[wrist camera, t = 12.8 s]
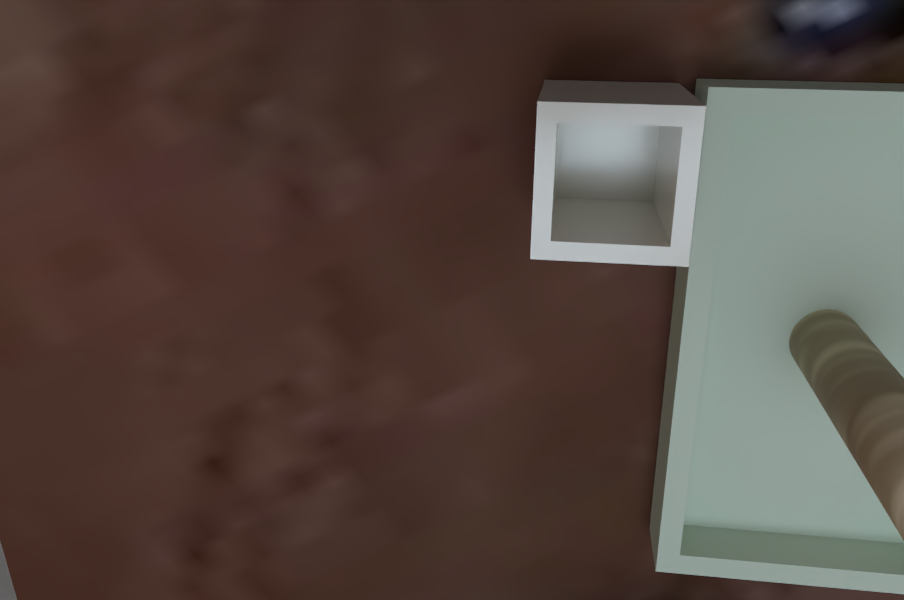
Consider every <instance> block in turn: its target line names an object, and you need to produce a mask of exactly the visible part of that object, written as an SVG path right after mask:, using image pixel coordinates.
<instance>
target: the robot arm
mask: <svg viewBox="0 0 904 600" xmlns="http://www.w3.org/2000/svg"><path fill="white" fill-rule="evenodd" d="M0 600H17V598H16V595H15V591H14V588H13V584H12V581H11V577H10V574H9V570H8V567H7V563H6V560H5V557H4V553H3V550H2V546H1V543H0Z"/></svg>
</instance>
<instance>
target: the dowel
mask: <svg viewBox="0 0 904 600" xmlns="http://www.w3.org/2000/svg"><path fill="white" fill-rule="evenodd" d="M789 348H790V352H791V355H792V357H793V359H794V360H795V362H796V364H797V365H798V367H799V368H800V370H801V372H802V373H803V375H804V377H805V378H806V380H807V382H808V383H809V385H810V387H811V388H812V390H813V392H814V393H815V395H816V397H817V398H818V400H819V402H820V403H821V405H822V407H823V408H824V410H825V412H826V413H827V415H828V416H829V418H830V420H831V421H832V423H833V425H834V426H835V428H836V430H837V431H838V433H839V435H840V436H841V438H842V440H843V441H844V443H845V445H846V446H847V448H848V450H849V451H850V453H851V455H852V456H853V458H854V460H855V461H856V463H857V464H858V466H859V468H860V469H861V471H862V473H863V474H864V476H865V478H866V479H867V481H868V483H869V484H870V486H871V488H872V489H873V491H874V493H875V494H876V496H877V498H878V499H879V501H880V503H881V504H882V506H883V508H884V509H885V511H886V512H887V514H888V516H889V517H890V519H891V521H892V522H893V524H894V526H895V527H896V529H897V531H898V532H899V534H900V536H901V537H902V539H903V541H904V378H903V377H902V376H901V374H900V373H899V372H898V371H897V370H896V369H895V367H894V366H893V365H892V364H891V363H890V362H889V360H888V359H887V358H886V357H885V356H884V355H883V353H882V352H881V351H880V350H879V349H878V348H877V346H876V345H875V344H874V343H873V342H872V341H871V340H870V338H869V337H868V336H867V335H866V334H865V333H864V331H863V330H862V329H861V328H860V327H859V326H858V324H857V323H856V322H855V321H854V320H853V319H852V318H851V317H850V316H848V315H847V314H845V313H843V312H840V311H837V310H819V311H815V312H812V313H810V314H808V315H806V316H805V317H803V318H802V319H801V320H800V321H799V322H798V323H797V324H796V325H795V327H794V328H793V330H792V332H791V335H790V339H789Z"/></svg>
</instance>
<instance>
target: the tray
mask: <svg viewBox="0 0 904 600" xmlns="http://www.w3.org/2000/svg"><path fill="white" fill-rule="evenodd" d="M695 97H696V98H697V99H698V100H700V101H701V102H702V103H703V104H704V105H706V113H705V122H704V131H703V140H702V149H701V158H700V168H699V177H698V186H697V195H696V204H695V213H694V222H693V232H692V241H691V250H690V259H689V267H681V266H677V269H676V279H675V288H674V298H673V307H672V317H671V326H670V336H669V346H668V355H667V365H666V374H665V384H664V393H663V403H662V412H661V422H660V432H659V441H658V451H657V460H656V470H655V479H654V489H653V499H652V508H651V518H650V527H649V528H650V535H651V542H652V549H653V556H654V563H655V570H656V571H657V572H668V573H679V574H690V575H701V576H712V577H722V578H733V579H744V580H755V581H766V582H777V583H788V584H799V585H810V586H820V587H831V588H842V589H853V590H864V591H875V592H886V593H897V594H904V541H903V539H902V537H901V536H900V534H899V532H898V531H897V529H896V527H895V526H894V524H893V522H892V521H891V519H890V517H889V516H888V514H887V512H886V511H885V509H884V508H883V506H882V504H881V503H880V501H879V499H878V498H877V496H876V494H875V493H874V491H873V489H872V488H871V486H870V484H869V483H868V481H867V479H866V478H865V476H864V474H863V473H862V471H861V469H860V468H859V466H858V464H857V463H856V461H855V460H854V458H853V456H852V455H851V453H850V451H849V450H848V448H847V446H846V445H845V443H844V441H843V440H842V438H841V436H840V435H839V433H838V431H837V430H836V428H835V426H834V425H833V423H832V421H831V420H830V418H829V416H828V415H827V413H826V412H825V410H824V408H823V407H822V405H821V403H820V402H819V400H818V398H817V397H816V395H815V393H814V392H813V390H812V388H811V387H810V385H809V383H808V382H807V380H806V378H805V377H804V375H803V373H802V372H801V370H800V368H799V367H798V365H797V364H796V362H795V360H794V359H793V357H792V355H791V352H790V348H789V339H790V335H791V332H792V330H793V328H794V327H795V325H796V324H797V323H798V322H799V321H800V320H801V319H802V318H803V317H805V316H806V315H808V314H810V313H812V312H815V311H819V310H837V311H840V312H843V313H845V314H847V315H848V316H850V317H851V318H852V319H853V320H854V321H855V322H856V323H857V324H858V326H859V327H860V328H861V329H862V330H863V331H864V333H865V334H866V335H867V336H868V337H869V338H870V340H871V341H872V342H873V343H874V344H875V345H876V346H877V348H878V349H879V350H880V351H881V352H882V353H883V355H884V356H885V357H886V358H887V359H888V360H889V362H890V363H891V364H892V365H893V366H894V367H895V369H896V370H897V371H898V372H899V373H900V374H901V376H902V377H903V378H904V84H903V83H862V82H820V81H778V80H737V79H696V87H695Z"/></svg>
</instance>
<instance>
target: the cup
mask: <svg viewBox="0 0 904 600" xmlns="http://www.w3.org/2000/svg"><path fill="white" fill-rule="evenodd" d="M705 113H706V105H704V104H703V103H702V102H701V101H700V100H698V99H697V98H696V97H695V96H694V95H692V94H691V93H690V92H689V91H688V90H686V89H685V88H684V87H683V86H682V85H681V84H679V83H658V82H617V81H577V80H544V83H543V86H542V89H541V92H540V95H539V98H538V101H537V119H536V142H535V164H534V187H533V209H532V232H531V254H530V259H540V260H560V261H580V262H600V263H621V264H641V265H661V266H681V267H689V259H690V250H691V241H692V232H693V222H694V213H695V204H696V195H697V186H698V177H699V168H700V158H701V149H702V140H703V131H704V122H705Z"/></svg>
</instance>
